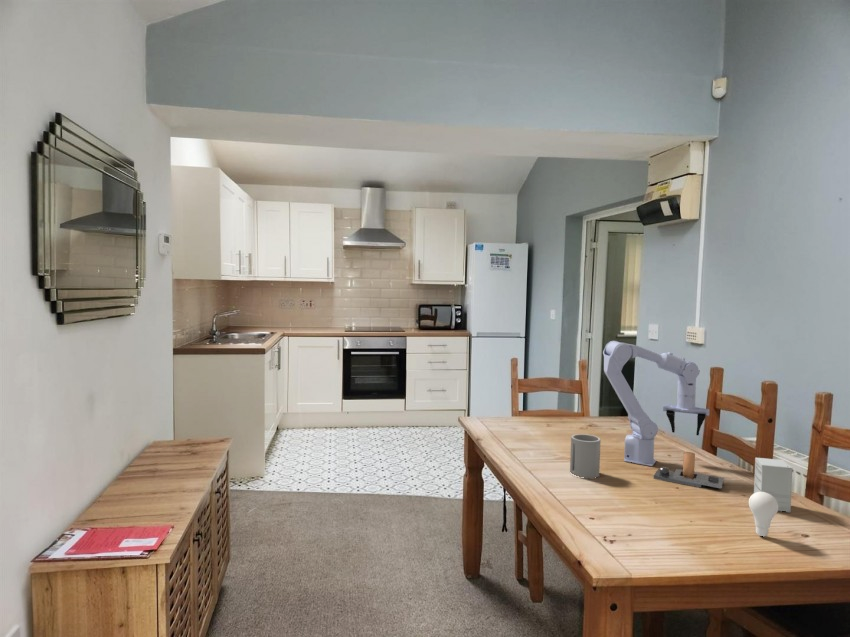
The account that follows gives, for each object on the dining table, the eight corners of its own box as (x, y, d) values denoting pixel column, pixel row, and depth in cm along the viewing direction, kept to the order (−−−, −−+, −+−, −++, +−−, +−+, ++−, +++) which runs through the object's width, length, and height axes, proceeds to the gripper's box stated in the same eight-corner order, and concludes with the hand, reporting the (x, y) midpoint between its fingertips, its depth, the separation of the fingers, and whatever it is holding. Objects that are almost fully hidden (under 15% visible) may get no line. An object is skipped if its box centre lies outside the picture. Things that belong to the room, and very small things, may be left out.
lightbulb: (741, 531, 131) (743, 488, 130) (764, 530, 131) (766, 487, 131) (758, 542, 125) (761, 497, 124) (782, 542, 125) (785, 497, 125)
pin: (681, 481, 166) (682, 453, 165) (683, 478, 168) (684, 451, 168) (692, 483, 164) (694, 455, 163) (694, 480, 166) (695, 453, 166)
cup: (603, 474, 171) (605, 438, 171) (591, 481, 164) (592, 443, 164) (578, 467, 177) (579, 432, 177) (565, 473, 171) (566, 437, 170)
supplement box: (782, 503, 149) (784, 459, 149) (791, 513, 142) (793, 467, 142) (752, 499, 152) (754, 456, 151) (759, 509, 145) (762, 464, 144)
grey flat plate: (653, 478, 168) (654, 469, 168) (658, 471, 174) (658, 463, 174) (721, 491, 157) (721, 482, 157) (723, 483, 164) (723, 475, 164)
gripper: (662, 395, 184) (661, 433, 184) (709, 399, 176) (708, 438, 177) (664, 391, 190) (663, 428, 190) (710, 395, 183) (709, 433, 183)
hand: (685, 433), depth 184 cm, fingers open, 7 cm apart
